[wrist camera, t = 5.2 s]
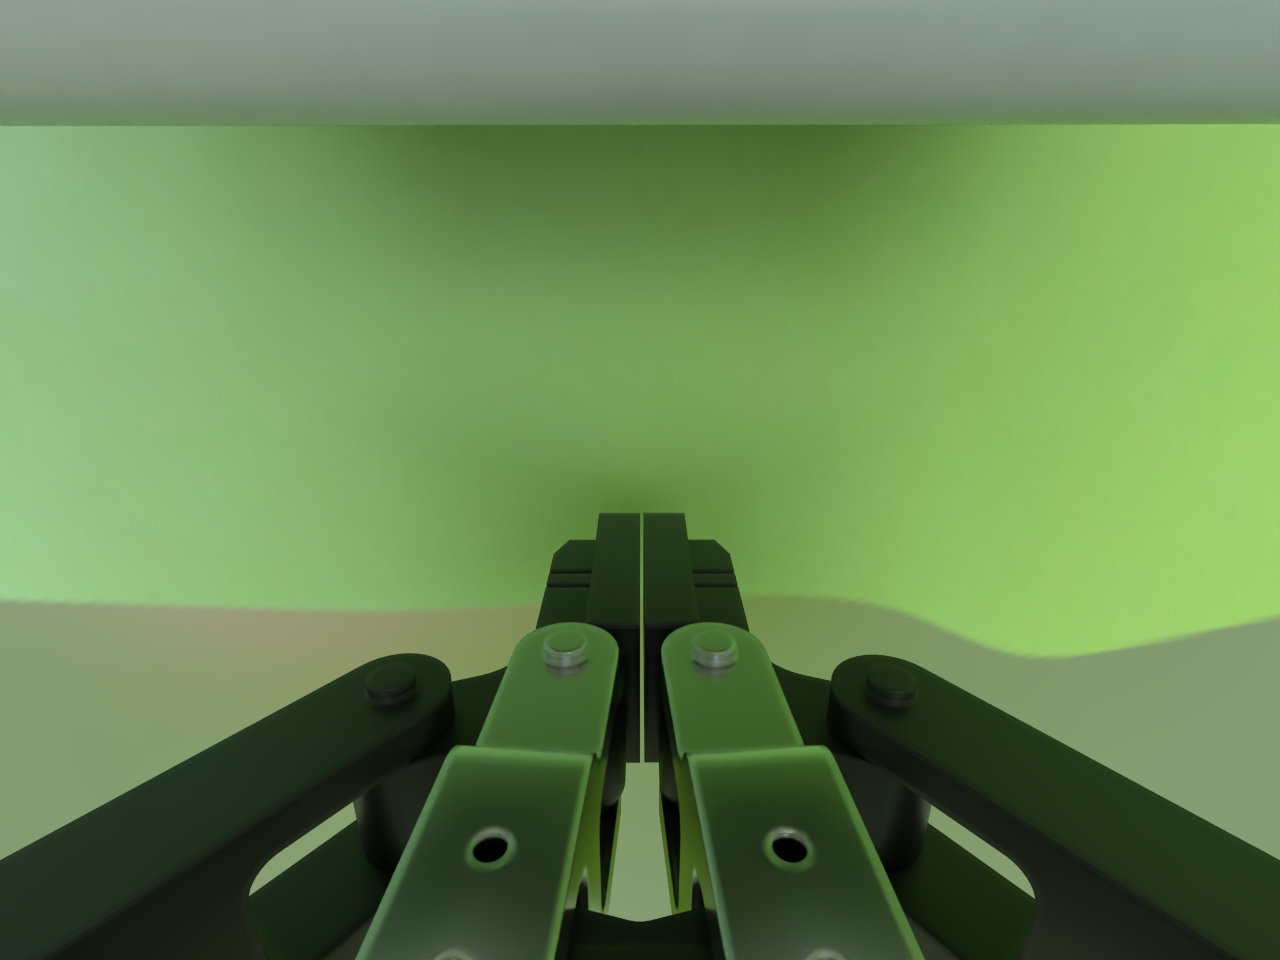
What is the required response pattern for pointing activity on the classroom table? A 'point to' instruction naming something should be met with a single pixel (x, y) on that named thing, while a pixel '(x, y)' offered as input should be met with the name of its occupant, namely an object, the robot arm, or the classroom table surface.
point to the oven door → (638, 62)
